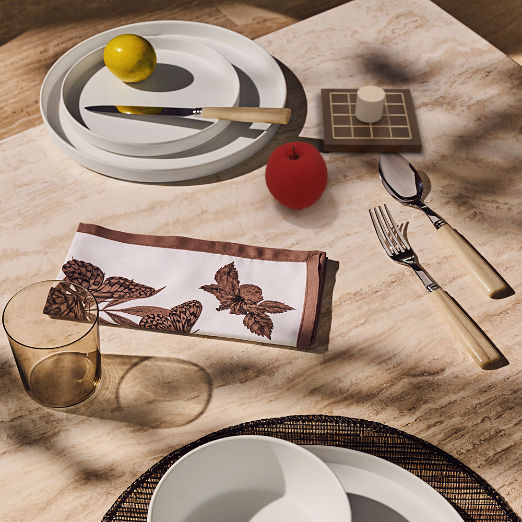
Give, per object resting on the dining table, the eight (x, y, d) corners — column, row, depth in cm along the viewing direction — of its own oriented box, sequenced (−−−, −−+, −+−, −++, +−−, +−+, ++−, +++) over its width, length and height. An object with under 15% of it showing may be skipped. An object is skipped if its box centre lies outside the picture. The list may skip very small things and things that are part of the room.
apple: (337, 210, 97) (342, 155, 90) (278, 226, 95) (279, 172, 88) (311, 171, 103) (314, 116, 96) (255, 185, 101) (254, 131, 94)
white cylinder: (380, 106, 111) (383, 85, 108) (383, 122, 108) (386, 101, 105) (353, 106, 111) (356, 85, 108) (355, 122, 108) (358, 101, 105)
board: (408, 96, 116) (410, 88, 115) (420, 152, 106) (422, 144, 105) (320, 95, 116) (320, 87, 115) (323, 152, 106) (324, 143, 105)
